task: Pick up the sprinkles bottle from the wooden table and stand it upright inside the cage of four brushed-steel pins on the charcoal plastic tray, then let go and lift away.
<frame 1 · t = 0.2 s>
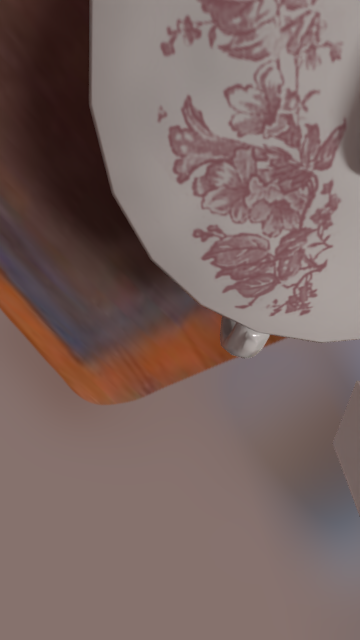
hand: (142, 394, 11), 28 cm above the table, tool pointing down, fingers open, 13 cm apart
chamber pot: (295, 111, 31), on the table
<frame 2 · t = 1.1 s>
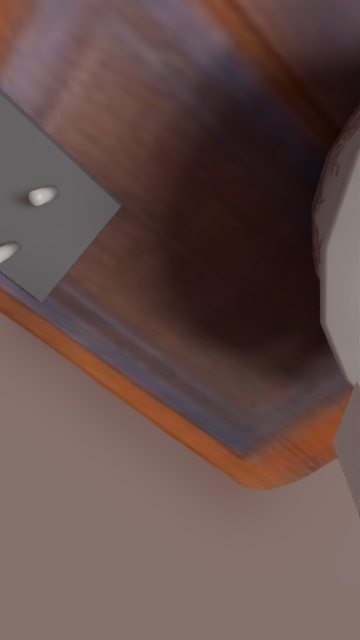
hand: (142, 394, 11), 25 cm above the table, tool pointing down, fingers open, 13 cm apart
pin tray: (6, 191, 33), on the table
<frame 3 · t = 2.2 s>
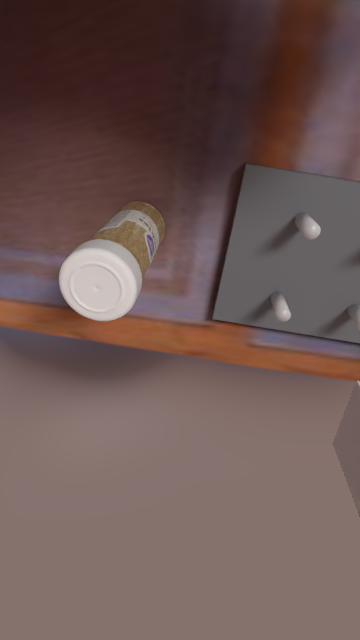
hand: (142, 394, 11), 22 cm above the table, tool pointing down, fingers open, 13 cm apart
sprinkles bottle: (140, 225, 31), on the table
pin tray: (325, 262, 31), on the table
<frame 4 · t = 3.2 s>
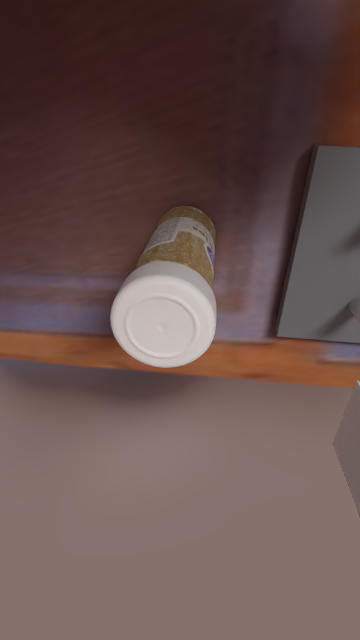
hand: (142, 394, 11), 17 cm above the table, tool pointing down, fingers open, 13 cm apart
sprinkles bottle: (185, 233, 26), on the table
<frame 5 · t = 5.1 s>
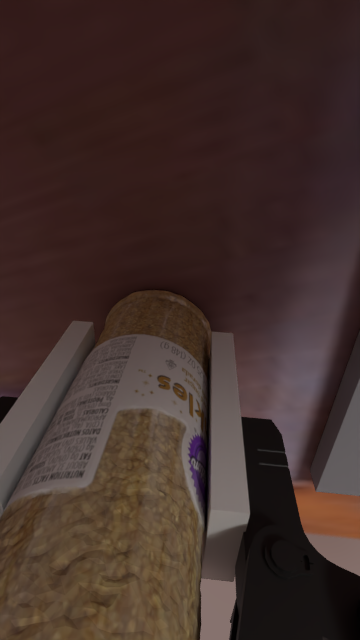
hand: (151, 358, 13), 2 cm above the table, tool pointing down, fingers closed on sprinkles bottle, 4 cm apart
sprinkles bottle: (158, 331, 15), on the table, touching gripper
when the fingers open (4 cm above the table, at t = 10.8 s): sprinkles bottle drops 1 cm, resting on pin tray.
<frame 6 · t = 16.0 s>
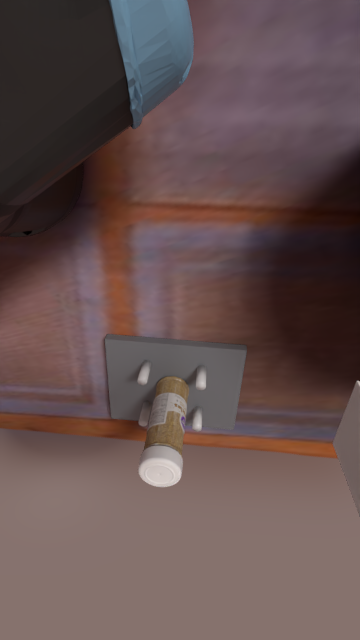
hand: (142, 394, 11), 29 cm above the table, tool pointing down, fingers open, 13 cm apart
sprinkles bottle: (172, 386, 47), point 1 cm above the table, touching pin tray
pin tray: (174, 381, 48), on the table
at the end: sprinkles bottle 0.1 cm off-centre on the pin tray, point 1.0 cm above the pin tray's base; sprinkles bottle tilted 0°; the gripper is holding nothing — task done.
